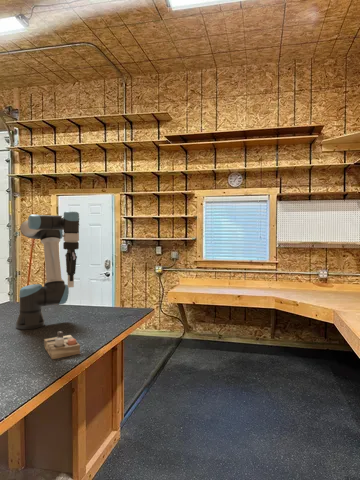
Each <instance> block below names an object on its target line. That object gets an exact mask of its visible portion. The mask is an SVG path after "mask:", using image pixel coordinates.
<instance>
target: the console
mask: <svg viewBox="0 0 360 480" xmlns="http://www.w3.org/2000/svg"><path fill="white" fill-rule="evenodd" d="M56 338H57V336H55V337H48V338H44V345H43V346H44V349H45V350H46V352H47V354H48V355H49V357H50V359H51V360H57V359H61V358H65V357H70V356H75V355H80V354H81V344H80V343H78V341H77V340H76V344H75V345H70V346H68V340H69V339H75V338H74V337H73V336H72V335H71V334H68V335H63V338H64V346H63V347H55V339H56Z"/></svg>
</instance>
